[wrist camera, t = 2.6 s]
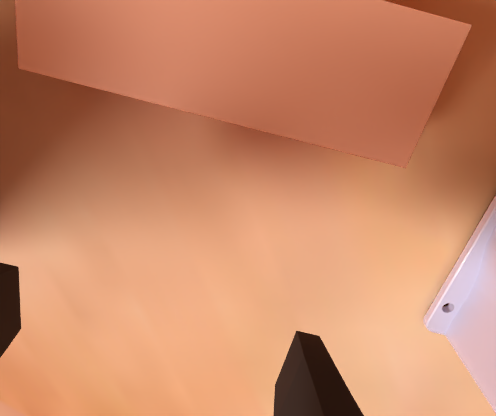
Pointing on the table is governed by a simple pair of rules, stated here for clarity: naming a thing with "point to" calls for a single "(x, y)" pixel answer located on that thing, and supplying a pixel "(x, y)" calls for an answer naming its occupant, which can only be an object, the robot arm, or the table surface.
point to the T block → (258, 63)
